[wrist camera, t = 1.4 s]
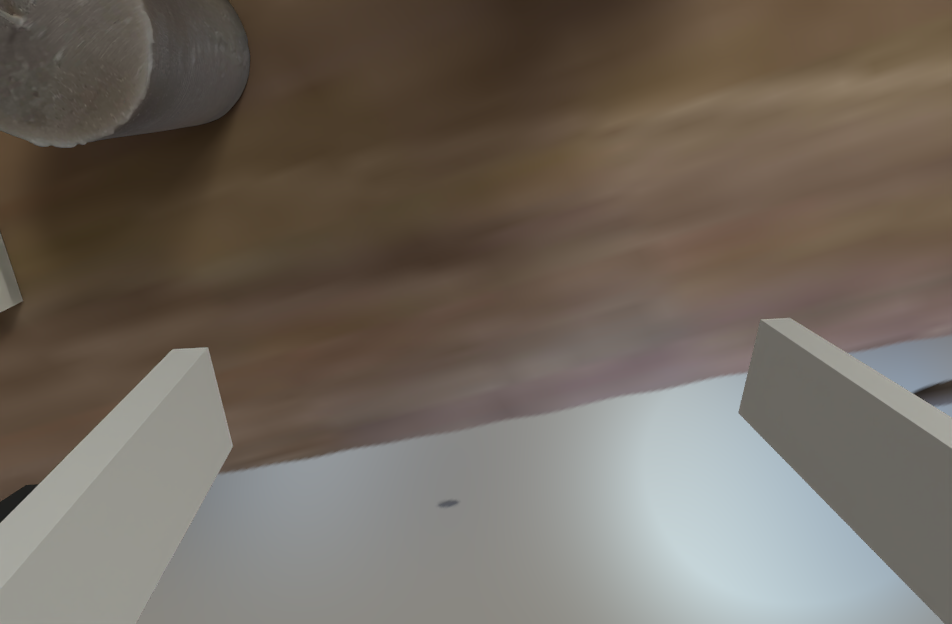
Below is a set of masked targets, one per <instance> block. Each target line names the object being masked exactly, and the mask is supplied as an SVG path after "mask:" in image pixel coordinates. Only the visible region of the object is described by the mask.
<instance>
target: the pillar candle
mask: <svg viewBox="0 0 952 624" xmlns="http://www.w3.org/2000/svg"><path fill="white" fill-rule="evenodd" d="M249 67H250V52H249V48H248V39H247V36H246V33H245V30H244V28H243V26H242V23H241V21H240V19H239V17H238V15H237V13H236V12H235V10H234V8H233V7H232V5H231V4H230V3H229V1H228V0H0V131H3V132H5V133H8V134H11V135H13V136H16V137H19V138H22V139H25V140H27V141H29V142H30V143H34V145H37V146H40V147H48V146H50V145H53V146H55V147H60V148H72V147H75V146H76V145H77V144H81V145H85V144H86V143H87V142H93V141H98V140H104V139H110V138H117V137H124V136H132V135H138V134H146V133H153V132H159V131H166V130H172V129H178V128H184V127H191V126H196V125H201V124H205V123H209V122H211V121H214V120H217V119H219V118H220V117H222V116H223V115H225V114H226V113H227V112H228V111H229V110H230V109H231V108H232V107H233V105H234V104H235V103H236V102H237V101H238V99H239V98H240V96H241V94H242V92H243V90H244V88H245V85H246V83H247V79H248V76H249Z"/></svg>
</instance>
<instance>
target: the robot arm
mask: <svg viewBox="0 0 952 624" xmlns="http://www.w3.org/2000/svg"><path fill="white" fill-rule="evenodd" d="M739 414H740V415H741V416H742V417H743V418H744V419H745V420H746V421H747V422H748V423H749V424H750V425H751V426H752V427H753V428H754V429H755V430H756V431H757V432H758V433H759V434H760V435H761V436H762V437H763V439H765V441H766V442H767V443H768V444H769V445H771V447H772V448H773V449H774V450H775V451H776V452H777V453H778V454H779V455H780V456H781V457H782V458H783V459H784V460H785V461H786V462H787V463H788V464H789V465H790V466H791V467H792V468H793V469H794V470H795V471H796V472H797V473H798V474H799V475H800V476H801V477H802V478H803V479H804V480H805V481H806V482H807V483H808V484H809V485H810V486H811V488H812V489H813V490H815V492H816V493H817V494H818V495H819V496H820V497H821V498H822V499H823V500H824V501H825V502H826V503H827V504H828V505H829V506H830V507H831V508H832V509H833V510H834V511H835V512H836V513H837V514H838V515H839V516H840V517H841V518H842V519H843V520H844V521H845V522H846V523H847V524H848V525H849V526H850V527H851V528H852V529H853V530H854V531H855V532H856V533H857V534H858V535H859V536H860V538H861V539H862V540H863V541H864V542H865V543H866V544H867V545H868V546H869V547H870V548H871V549H872V550H874V552H875V553H876V554H877V555H878V556H879V557H880V558H881V559H882V560H883V561H884V562H885V563H886V564H887V565H888V566H889V567H890V568H891V569H892V570H893V571H894V572H895V573H896V574H897V575H898V576H899V577H900V578H901V579H902V580H903V581H904V582H905V583H906V584H907V585H908V586H909V588H911V590H912V591H913V592H914V593H915V594H916V595H917V596H918V597H919V598H920V599H921V600H922V601H923V602H924V603H925V604H926V605H927V606H928V607H929V608H930V609H931V610H932V611H933V612H934V613H935V614H936V615H937V616H938V617H939V618H940V619H941V620H942V621H943V622H944V623H945V624H952V418H951V417H950V416H948V415H947V414H945V413H943V412H942V411H940V410H939V409H937V408H935V407H934V406H932V405H930V404H929V403H927V402H926V401H924V400H922V399H921V398H919V397H917V396H916V395H914V394H913V393H911V392H909V391H908V390H906V389H904V388H903V387H901V386H899V385H898V384H896V383H895V382H893V381H891V380H890V379H888V378H886V377H885V376H883V375H882V374H880V373H878V372H877V371H875V370H874V369H872V368H870V367H869V366H867V365H865V364H864V363H862V362H861V361H859V360H857V359H855V358H854V357H852V356H851V355H849V354H848V353H846V352H844V351H843V350H841V349H839V348H838V347H836V346H835V345H833V344H831V343H830V342H828V341H826V340H825V339H823V338H822V337H820V336H818V335H817V334H815V333H813V332H812V331H810V330H809V329H807V328H805V327H804V326H802V325H800V324H799V323H797V322H796V321H794V320H792V319H791V318H779V319H760V324H759V328H758V332H757V336H756V341H755V345H754V349H753V353H752V358H751V362H750V366H749V370H748V375H747V380H746V383H745V387H744V392H743V396H742V400H741V405H740V409H739ZM232 447H233V444H232V440H231V436H230V432H229V428H228V424H227V421H226V417H225V413H224V409H223V405H222V401H221V397H220V393H219V389H218V385H217V381H216V377H215V373H214V369H213V365H212V361H211V357H210V353H209V349H208V347H206V348H186V349H172V350H171V351H170V352H169V353H168V354H167V355H166V356H165V357H164V358H163V359H162V360H161V361H160V362H159V363H158V364H157V366H156V367H155V368H154V369H153V370H152V371H151V372H150V373H149V374H148V375H147V376H146V377H145V378H144V379H143V380H142V381H141V382H140V383H139V384H138V385H137V386H136V387H135V388H134V389H133V390H132V391H131V392H130V393H129V394H128V395H127V396H126V397H125V398H124V399H123V400H122V401H121V402H120V403H119V404H118V405H117V406H116V407H115V408H114V409H113V410H112V411H111V412H110V413H109V414H108V415H107V416H106V417H105V418H104V419H103V420H102V421H101V422H100V423H99V424H98V425H97V426H96V427H95V428H94V429H93V430H92V431H91V432H90V433H89V434H88V435H87V436H86V437H85V438H84V439H83V440H82V441H81V442H80V443H79V444H78V445H77V446H76V447H75V448H74V449H73V450H72V451H71V452H70V453H69V454H68V455H67V456H66V457H65V458H64V459H63V460H62V461H61V462H60V463H59V464H58V465H57V466H56V467H55V469H54V470H53V471H52V472H51V473H50V474H49V475H48V476H47V477H46V478H45V479H44V480H43V481H42V482H41V483H40V484H37V485H26V486H24V487H23V488H21V489H20V490H18V491H16V492H15V493H13V494H12V495H10V496H9V497H7V498H6V499H4V500H2V501H1V502H0V624H136V623H137V621H138V619H139V617H140V616H141V614H142V612H143V610H144V608H145V606H146V605H147V603H148V601H149V599H150V597H151V595H152V594H153V592H154V590H155V588H156V586H157V584H158V583H159V581H160V579H161V577H162V575H163V573H164V572H165V570H166V568H167V566H168V564H169V562H170V561H171V559H172V557H173V555H174V553H175V551H176V550H177V548H178V546H179V544H180V542H181V541H182V538H183V537H184V535H185V533H186V531H187V530H188V528H189V526H190V524H191V522H192V520H193V518H194V517H195V515H196V513H197V511H198V509H199V508H200V506H201V504H202V502H203V500H204V498H205V497H206V495H207V493H208V491H209V489H210V487H211V486H212V484H213V482H214V480H215V478H216V476H217V475H218V473H219V471H220V469H221V467H222V465H223V464H224V462H225V460H226V458H227V456H228V454H229V453H230V451H231V449H232Z"/></svg>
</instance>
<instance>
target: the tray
mask: <svg viewBox="0 0 952 624" xmlns="http://www.w3.org/2000/svg"><path fill="white" fill-rule="evenodd" d="M22 301H23V299H22V296H21V293H20V290H19V287H18V284H17V281H16V278H15V275H14V272H13V269H12V266H11V263H10V260H9V257H8V254H7V251H6V248H5V245H4V242H3V239H2V236H1V233H0V312H2V311H4V310H6V309H8V308H10V307H12V306H14V305H16V304H18V303H20V302H22Z"/></svg>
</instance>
